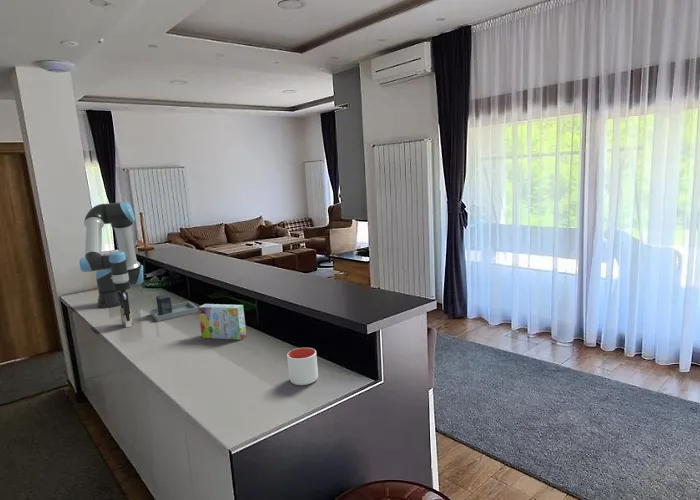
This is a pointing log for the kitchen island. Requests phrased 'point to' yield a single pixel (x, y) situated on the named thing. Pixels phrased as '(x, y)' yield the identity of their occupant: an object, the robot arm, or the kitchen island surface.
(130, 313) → the canister
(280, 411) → the kitchen island surface
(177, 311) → the grey tray
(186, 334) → the kitchen island surface
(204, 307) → the snack box
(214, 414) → the kitchen island surface
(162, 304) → the box
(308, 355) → the cup
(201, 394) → the kitchen island surface
